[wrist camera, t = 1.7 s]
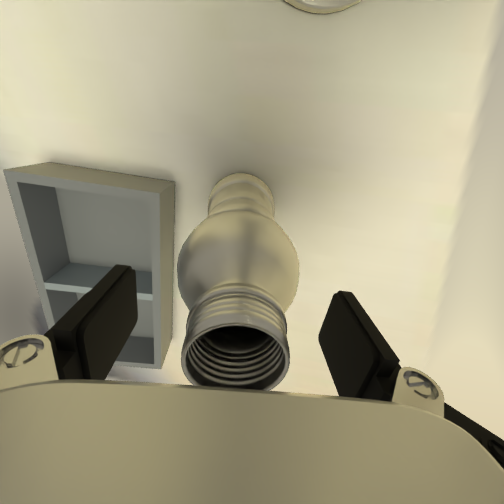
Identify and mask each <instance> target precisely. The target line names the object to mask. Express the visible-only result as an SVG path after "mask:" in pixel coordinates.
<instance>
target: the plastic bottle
mask: <svg viewBox="0 0 504 504" xmlns="http://www.w3.org/2000/svg"><path fill="white" fill-rule="evenodd" d="M274 210H275V208H274V200H273V196H272V194H271V192H270V190H269V188H268V187H267V186H266V184H265V183H264V182H263V181H261V180H260V179H259V178H257V177H255V176H253V175H249V174H244V173H237V174H232V175H229V176H226V177H225V178H223V179H222V180H220V181H219V182H218V183H217V184H216V185H215V187H214V188H213V190H212V192H211V194H210V196H209V201H208V217H207V218H206V219H205V220H204V221H203V222H201V223H200V224H199V225H198V226H197V227H196V228H195V229H194V230H193V232H192V233H191V234H190V235H189V237H188V238H187V240H186V241H185V243H184V244H183V246H182V249H181V251H180V253H179V257H178V263H177V273H178V287H179V290H180V294H181V297H182V299H183V300H184V302H185V304H186V306H187V307H188V309H189V311H190V312H189V315H188V319H187V324H186V337H185V340H184V344H183V348H182V352H181V366H182V369H183V372H184V374H185V376H186V377H187V379H188V380H189V381H190V382H191V383H192V384H193V385H194V386H209V387H223V388H237V389H250V390H264V391H270V390H271V389H273V388H274V387H275V386H277V385H278V384H279V383H280V382H281V381H282V380H283V378H284V377H285V375H286V373H287V371H288V368H289V364H290V360H289V359H290V353H289V346H288V341H287V336H286V334H287V323H286V318H285V314H284V313H285V312H286V310H287V309H288V308H289V306H290V305H291V303H292V302H293V299H294V297H295V295H296V292H297V287H298V281H299V260H298V256H297V252H296V250H295V248H294V246H293V244H292V242H291V241H290V239H289V237H288V236H287V234H286V233H285V232H284V231H283V229H282V228H281V227H280V226H279V225H278V224H277V223H276V222H275V221H274Z"/></svg>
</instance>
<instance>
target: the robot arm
mask: <svg viewBox="0 0 504 504" xmlns="http://www.w3.org/2000/svg"><path fill="white" fill-rule="evenodd" d="M284 1H286V2H288V3H289V4H291V5H293V6H294V7H296V8H298V9H301V10H304V11H307V12H311V13H325V14H328V13H332V12H337V11H341V10H344V9H346V8H348V7H351V6H353V5H355V4H357V3H359V2H360V1H361V0H314V1H312V0H284ZM137 320H138V305H137V286H136V271H135V270H134V269H132V267H131V266H128V265H119V264H116V265H115V266H114V267H113V268H112V269H111V270H110V271H109V272H108V273H107V274H106V275H105V276H104V277H103V278H102V279H101V280H100V281H99V282H98V283H97V284H96V285H95V286H94V287H93V288H92V289H91V290H90V291H89V292H87V293H86V294H84V295H83V296H82V297H81V298H80V299H79V300H78V301H77V302H76V303H75V304H74V305H73V306H72V307H71V308H70V309H69V310H68V311H67V312H66V313H65V314H64V315H63V316H62V317H61V318H60V319H59V320H58V321H57V322H56V323H55V324H54V325H53V326H52V327H51V328H50V329H49V330H48V331H47V332H46V333H45V334H44V335H37V334H36V335H26V336H22V337H18V338H15V339H12V340H10V341H8V342H6V343H4V344H2V345H1V346H0V504H504V441H503V440H502V439H501V438H499V437H498V436H496V435H495V434H493V433H491V432H490V431H488V430H487V429H485V428H484V427H482V426H480V425H479V424H477V423H476V422H474V421H473V420H471V419H469V418H468V417H466V416H465V415H463V414H461V413H460V412H459V411H457V410H455V409H454V408H452V407H451V406H449V405H447V404H446V403H444V395H443V392H442V390H441V389H440V387H439V386H438V385H437V383H436V382H435V381H434V380H432V379H431V378H430V377H429V376H428V375H426V374H425V373H423V372H421V371H419V370H417V369H414V368H411V367H404V368H401V366H400V365H399V364H398V363H399V361H400V360H399V359H398V357H397V356H396V354H395V353H394V351H393V350H392V349H391V347H390V346H389V344H388V343H387V342H386V340H385V339H384V337H383V336H382V334H381V333H380V332H379V330H378V329H377V327H376V326H375V324H374V323H373V322H372V320H371V319H370V317H369V316H368V314H367V313H366V312H365V310H364V309H363V307H362V306H361V305H360V303H359V302H358V300H357V299H356V297H355V296H354V295H353V293H352V292H346V291H338V292H337V293H335V294H334V295H333V298H332V300H331V303H330V306H329V308H328V311H327V314H326V317H325V319H324V322H323V325H322V327H321V330H320V333H319V343H320V346H321V349H322V351H323V354H324V357H325V359H326V362H327V365H328V367H329V370H330V373H331V376H332V378H333V381H334V384H335V386H336V389H337V392H338V394H339V396H329V395H316V394H303V393H291V392H278V391H264V390H250V389H237V388H223V387H209V386H194V385H179V384H164V383H149V382H132V381H112V380H105V379H106V377H107V375H108V373H109V371H110V370H111V368H112V366H113V364H114V363H115V361H116V359H117V357H118V356H119V354H120V352H121V350H122V348H123V347H124V345H125V343H126V341H127V340H128V338H129V336H130V334H131V333H132V331H133V329H134V327H135V326H136V324H137Z"/></svg>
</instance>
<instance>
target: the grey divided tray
mask: <svg viewBox="0 0 504 504" xmlns="http://www.w3.org/2000/svg"><path fill="white" fill-rule="evenodd" d="M3 172H4V175H5V179H6V182H7V186H8V189H9V192H10V196H11V199H12V203H13V206H14V209H15V213H16V217H17V220H18V224H19V227H20V230H21V234H22V238H23V241H24V245H25V248H26V251H27V255H28V258H29V262H30V265H31V269H32V272H33V276H34V279H35V283H36V286H37V290H38V293H39V297H40V300H41V304H42V307H43V311H44V314H45V318H46V321H47V325H48V328H49V329H50V328H51V327H52V326H53V325H54V324H55V323H56V322H57V321H58V320H59V319H60V318H61V317H62V316H63V315H64V314H65V313H66V312H67V311H68V310H69V309H70V308H71V307H72V306H73V305H74V304H75V303H76V302H77V301H78V300H79V299H80V298H81V297H82V296H83V295H84V294H86V293H87V292H89V291H90V290H91V289H92V288H93V287H94V286H95V285H96V284H97V283H98V282H99V281H100V280H101V279H102V278H103V277H104V276H105V275H106V274H107V273H108V272H109V271H110V270H111V269H112V268H113V267H114V266H115V265H116V264H119V265H128V266H131V267H132V269H134V270H135V271H136V286H137V305H138V320H137V324H136V326H135V327H134V329H133V331H132V333H131V334H130V336H129V338H128V340H127V341H126V343H125V345H124V347H123V348H122V350H121V352H120V354H119V356H118V357H117V359H116V361H115V363H114V364H113V365H115V366H127V367H140V368H152V369H161V368H162V366H163V363H164V360H165V357H166V354H167V351H168V348H169V345H170V342H171V340H172V313H173V261H174V208H175V182H173V181H166V180H160V179H153V178H147V177H141V176H134V175H128V174H121V173H115V172H109V171H102V170H96V169H90V168H83V167H77V166H70V165H64V164H58V163H51V162H47V163H41V164H35V165H29V166H23V167H17V168H10V169H4V170H3Z"/></svg>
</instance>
